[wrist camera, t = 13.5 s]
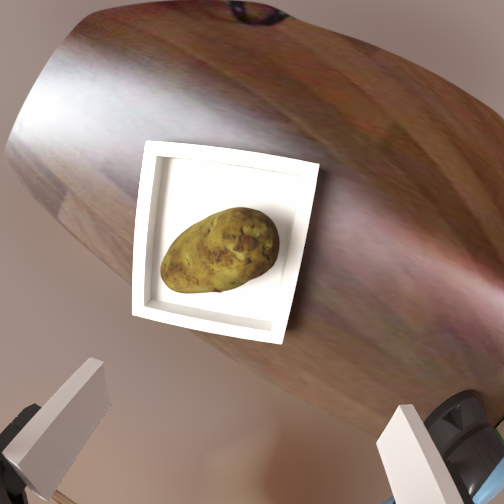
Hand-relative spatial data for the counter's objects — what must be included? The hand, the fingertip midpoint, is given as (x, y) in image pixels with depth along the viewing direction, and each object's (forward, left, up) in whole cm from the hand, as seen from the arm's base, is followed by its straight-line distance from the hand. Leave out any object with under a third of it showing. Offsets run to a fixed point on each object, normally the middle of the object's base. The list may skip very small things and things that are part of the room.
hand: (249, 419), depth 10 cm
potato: (+2, +5, -22) cm, 23 cm away
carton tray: (+2, +5, -23) cm, 24 cm away
